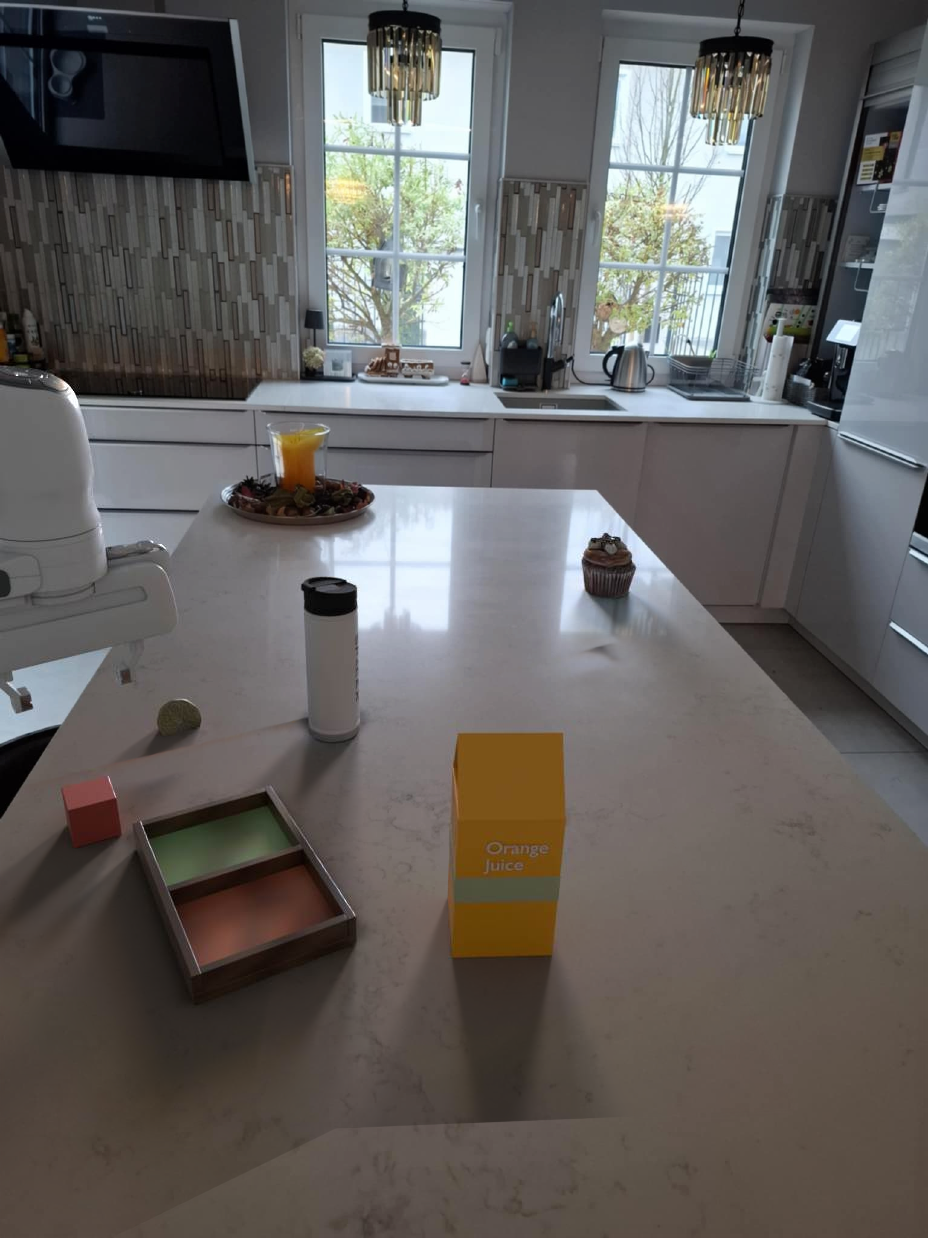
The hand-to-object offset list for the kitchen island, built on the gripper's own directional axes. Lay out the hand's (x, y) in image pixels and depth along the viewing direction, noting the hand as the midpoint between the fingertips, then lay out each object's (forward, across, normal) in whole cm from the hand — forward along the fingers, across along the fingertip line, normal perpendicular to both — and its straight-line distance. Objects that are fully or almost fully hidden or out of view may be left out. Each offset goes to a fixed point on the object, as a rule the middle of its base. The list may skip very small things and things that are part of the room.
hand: (76, 694), depth 83 cm
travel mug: (+16, -29, -3) cm, 33 cm away
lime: (+16, -13, -12) cm, 24 cm away
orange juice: (+16, -24, +35) cm, 45 cm away
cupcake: (+16, -94, -17) cm, 97 cm away
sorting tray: (+16, -7, +17) cm, 24 cm away
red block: (+15, 0, 0) cm, 16 cm away
